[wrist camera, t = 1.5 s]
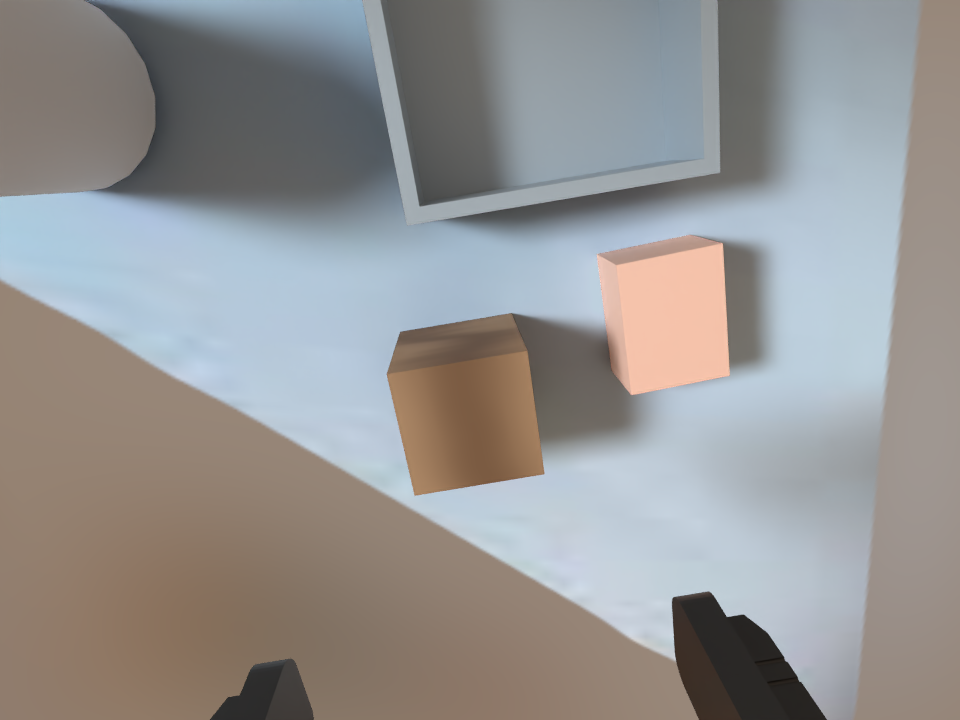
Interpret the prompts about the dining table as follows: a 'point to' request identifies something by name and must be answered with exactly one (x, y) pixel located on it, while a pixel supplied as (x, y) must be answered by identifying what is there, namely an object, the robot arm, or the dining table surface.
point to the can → (69, 99)
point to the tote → (543, 98)
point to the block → (465, 404)
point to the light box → (665, 313)
